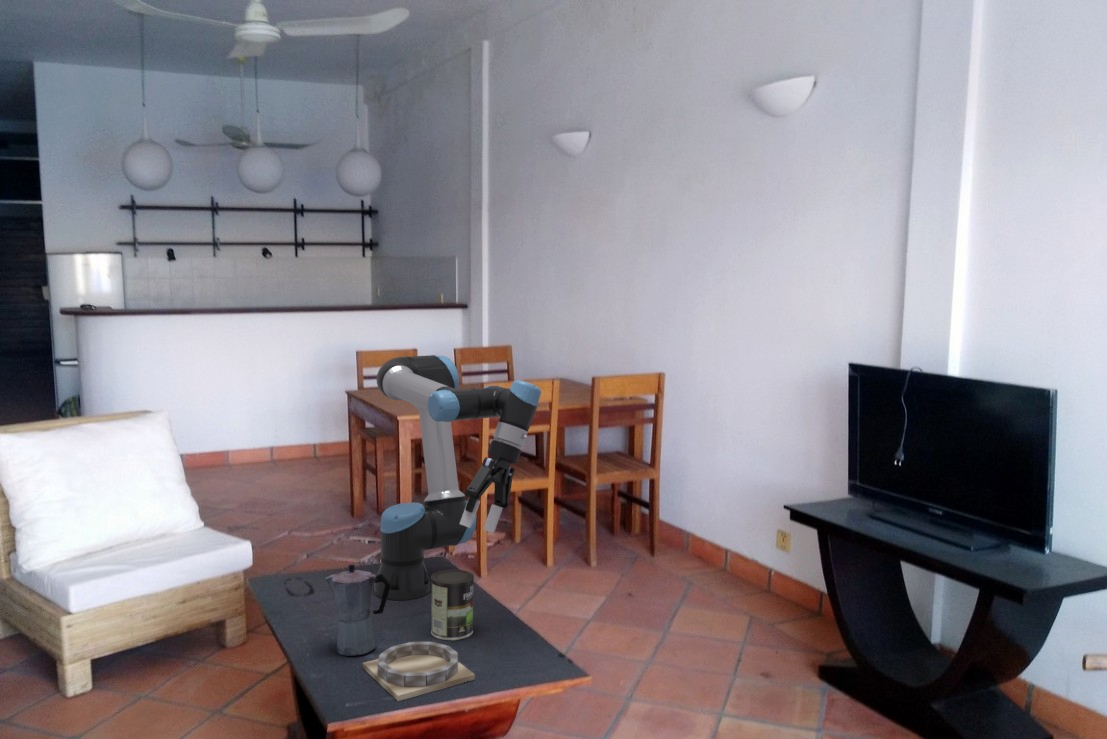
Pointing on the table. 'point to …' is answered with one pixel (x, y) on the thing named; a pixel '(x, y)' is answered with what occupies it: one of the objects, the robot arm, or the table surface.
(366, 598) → the moka pot
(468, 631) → the coffee can
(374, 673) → the ring board
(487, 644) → the table surface
